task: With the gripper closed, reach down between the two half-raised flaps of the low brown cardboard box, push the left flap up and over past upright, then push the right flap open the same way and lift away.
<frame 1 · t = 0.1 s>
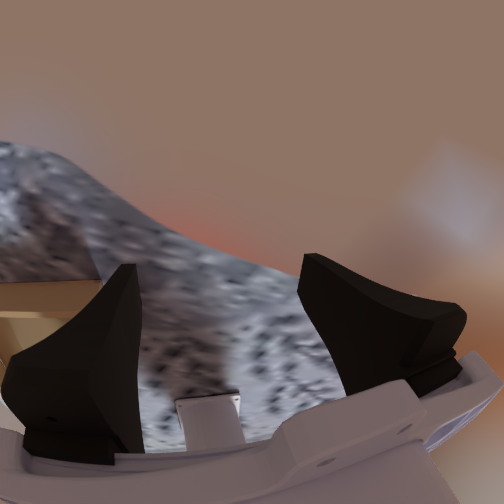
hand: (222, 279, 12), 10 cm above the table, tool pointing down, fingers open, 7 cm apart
flap 2: (7, 387, 16), point 7 cm above the table, hinge at 55.0°
carton: (60, 337, 23), on the table
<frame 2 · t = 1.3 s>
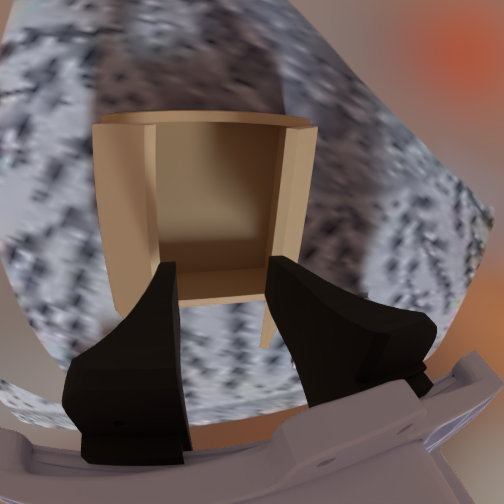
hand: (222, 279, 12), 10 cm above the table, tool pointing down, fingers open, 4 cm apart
flap 2: (125, 244, 14), point 7 cm above the table, hinge at 55.0°
flap 1: (290, 236, 17), point 7 cm above the table, hinge at 55.0°
carton: (198, 199, 21), on the table
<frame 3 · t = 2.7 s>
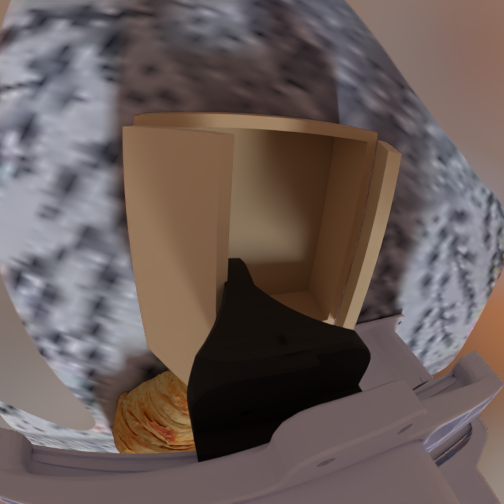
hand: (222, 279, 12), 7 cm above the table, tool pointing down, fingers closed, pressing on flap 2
flap 2: (170, 283, 12), point 7 cm above the table, hinge at 55.7°, touching gripper
croissant: (160, 408, 27), on the table
flap 1: (360, 267, 14), point 7 cm above the table, hinge at 55.0°
carton: (241, 217, 18), on the table
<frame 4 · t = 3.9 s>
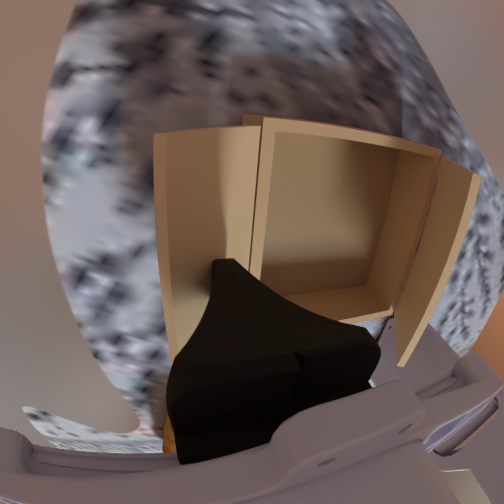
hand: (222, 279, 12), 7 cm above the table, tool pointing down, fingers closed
flap 2: (213, 275, 12), point 6 cm above the table, hinge at 131.7°, touching gripper
croissant: (210, 404, 28), on the table
flap 1: (431, 261, 15), point 7 cm above the table, hinge at 55.0°
carton: (321, 218, 20), on the table
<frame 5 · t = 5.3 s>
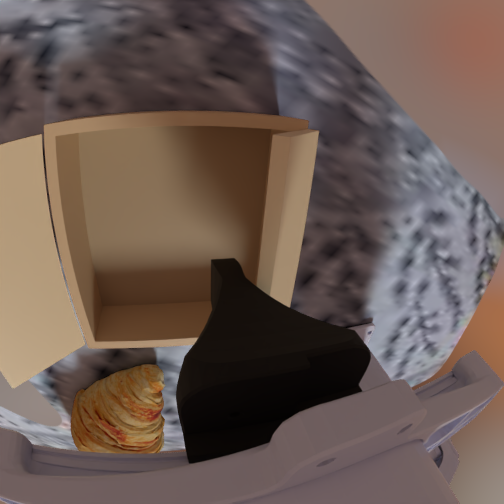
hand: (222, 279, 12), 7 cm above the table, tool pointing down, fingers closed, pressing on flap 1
flap 2: (9, 277, 10), point 6 cm above the table, hinge at 138.3°
croissant: (119, 407, 25), on the table
flap 1: (281, 275, 13), point 7 cm above the table, hinge at 55.4°, touching gripper
carton: (173, 219, 17), on the table
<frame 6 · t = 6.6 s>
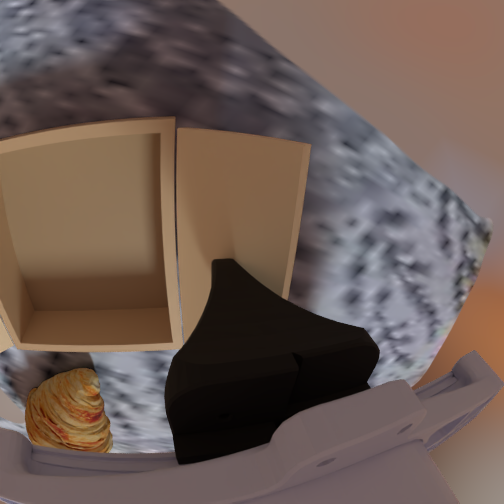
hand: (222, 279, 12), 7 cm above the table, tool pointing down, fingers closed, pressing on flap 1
croissant: (71, 408, 24), on the table
flap 1: (226, 278, 13), point 6 cm above the table, hinge at 127.4°, touching gripper
carton: (82, 229, 16), on the table
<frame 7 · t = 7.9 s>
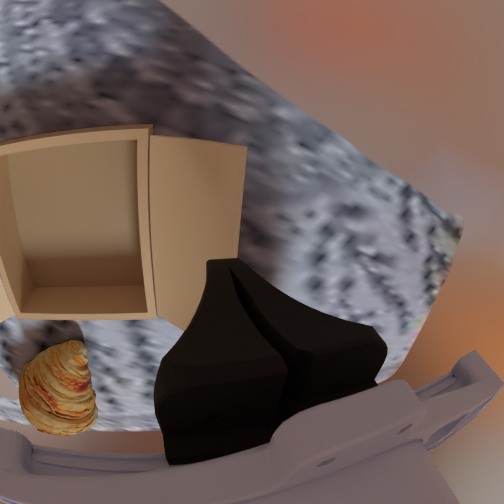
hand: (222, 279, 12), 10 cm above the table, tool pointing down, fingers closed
croissant: (61, 382, 27), on the table
flap 1: (189, 251, 16), point 6 cm above the table, hinge at 134.1°
carton: (76, 216, 19), on the table
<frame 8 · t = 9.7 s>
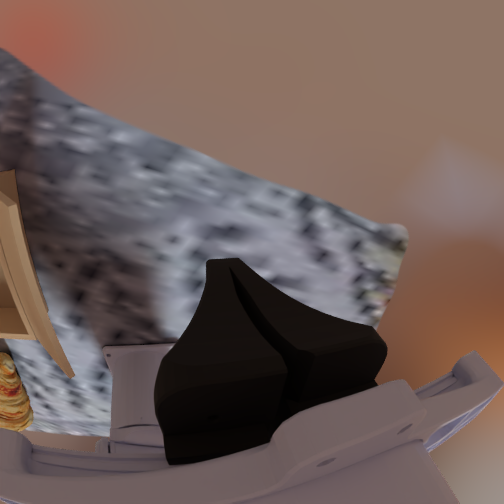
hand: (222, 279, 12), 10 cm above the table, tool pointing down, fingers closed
croissant: (5, 386, 25), on the table
flap 1: (25, 288, 14), point 6 cm above the table, hinge at 135.0°
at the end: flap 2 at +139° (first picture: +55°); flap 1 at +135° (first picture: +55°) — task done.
